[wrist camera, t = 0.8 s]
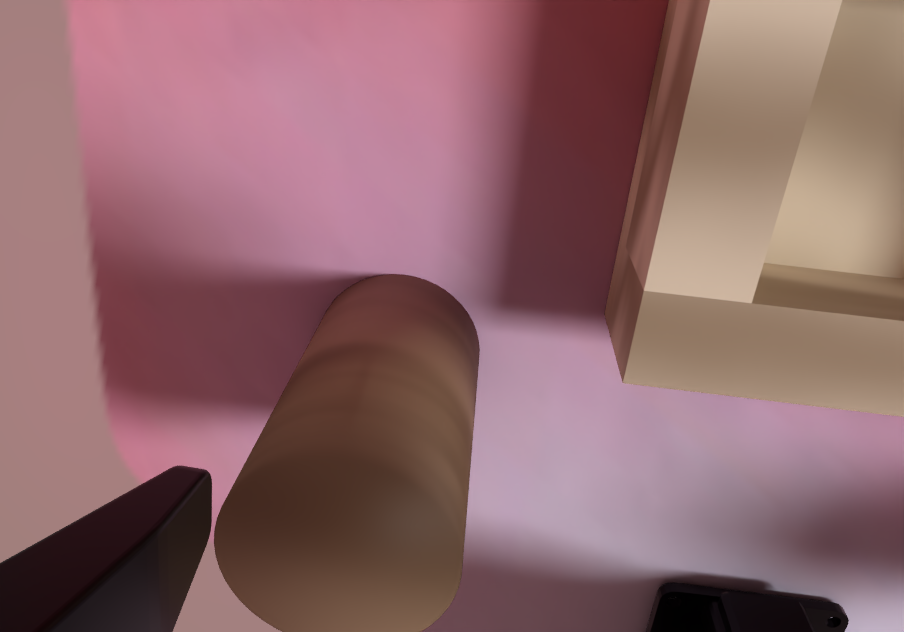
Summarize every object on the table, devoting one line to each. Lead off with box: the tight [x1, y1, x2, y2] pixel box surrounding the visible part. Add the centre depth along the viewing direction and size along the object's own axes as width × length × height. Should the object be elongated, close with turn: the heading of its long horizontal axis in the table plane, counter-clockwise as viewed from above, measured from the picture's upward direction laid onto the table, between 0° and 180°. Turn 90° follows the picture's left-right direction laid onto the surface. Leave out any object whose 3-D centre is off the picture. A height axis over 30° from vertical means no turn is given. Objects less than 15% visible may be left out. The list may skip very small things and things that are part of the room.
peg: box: [214, 274, 480, 632], centre depth 19 cm, size 5×5×9 cm
